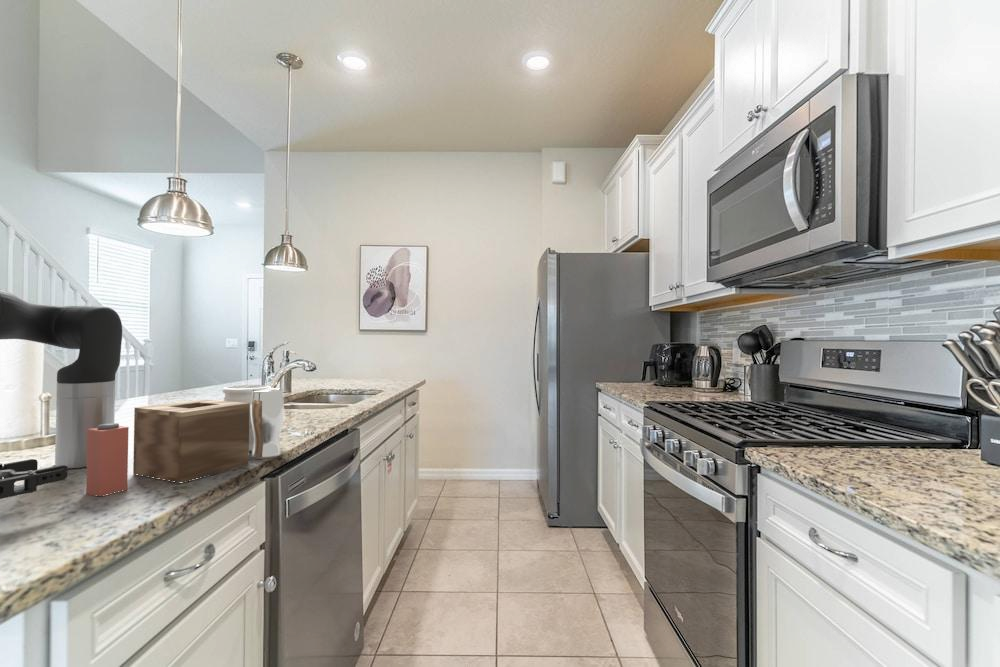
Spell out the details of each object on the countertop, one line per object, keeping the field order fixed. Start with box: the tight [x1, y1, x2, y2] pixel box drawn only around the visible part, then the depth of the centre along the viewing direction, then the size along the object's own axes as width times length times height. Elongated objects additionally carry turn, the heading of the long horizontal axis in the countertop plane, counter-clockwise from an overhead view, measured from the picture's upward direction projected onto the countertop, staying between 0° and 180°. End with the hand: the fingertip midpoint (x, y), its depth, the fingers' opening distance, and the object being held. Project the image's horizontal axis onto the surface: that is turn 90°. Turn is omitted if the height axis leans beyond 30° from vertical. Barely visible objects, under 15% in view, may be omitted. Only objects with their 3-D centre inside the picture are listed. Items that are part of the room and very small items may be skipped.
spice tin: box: [85, 422, 130, 497], centre depth 80 cm, size 4×4×12 cm
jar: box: [222, 384, 272, 452], centre depth 112 cm, size 11×10×15 cm
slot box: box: [132, 398, 250, 482], centre depth 94 cm, size 14×14×13 cm
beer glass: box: [250, 387, 285, 460], centre depth 105 cm, size 7×7×15 cm
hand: (50, 468), depth 73 cm, fingers open, 8 cm apart
